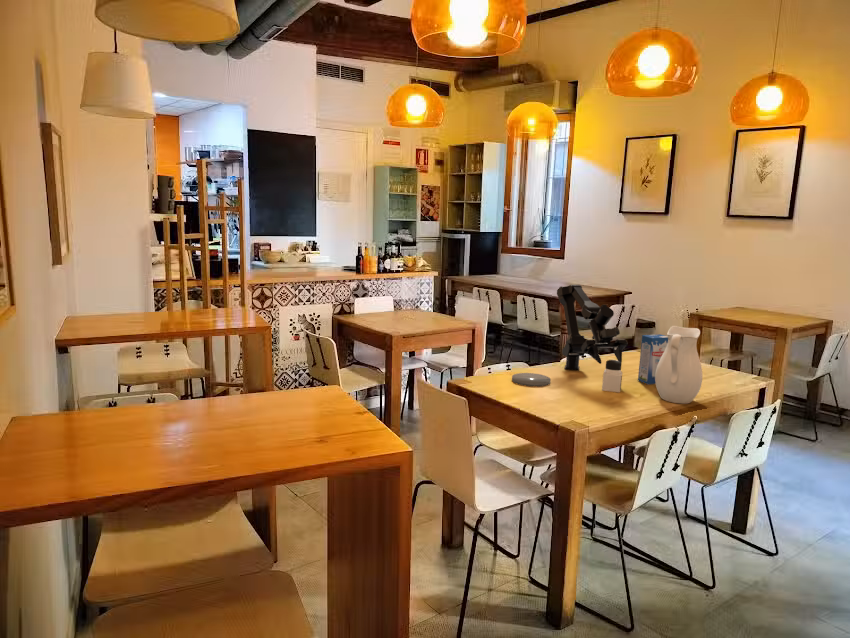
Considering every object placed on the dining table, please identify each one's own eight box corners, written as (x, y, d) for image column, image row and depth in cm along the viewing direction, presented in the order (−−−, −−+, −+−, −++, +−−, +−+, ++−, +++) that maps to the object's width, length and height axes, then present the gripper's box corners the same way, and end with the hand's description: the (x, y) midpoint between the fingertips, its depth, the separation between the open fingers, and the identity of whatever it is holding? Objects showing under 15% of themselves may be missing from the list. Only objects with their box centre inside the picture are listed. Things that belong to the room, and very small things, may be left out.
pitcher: (659, 390, 257) (666, 323, 252) (703, 399, 247) (711, 329, 242) (642, 404, 237) (649, 331, 232) (689, 413, 228) (698, 338, 223)
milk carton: (656, 379, 275) (660, 334, 272) (666, 382, 269) (671, 337, 266) (637, 380, 271) (642, 335, 268) (647, 384, 266) (652, 338, 262)
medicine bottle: (620, 392, 252) (622, 363, 250) (601, 390, 254) (604, 361, 252) (620, 388, 258) (623, 359, 256) (602, 386, 261) (605, 357, 259)
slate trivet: (514, 374, 274) (514, 371, 273) (551, 378, 270) (552, 375, 269) (509, 384, 259) (509, 380, 258) (548, 388, 254) (549, 384, 254)
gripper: (586, 320, 256) (598, 352, 248) (627, 320, 261) (640, 351, 252) (576, 335, 265) (587, 367, 256) (615, 335, 270) (627, 366, 261)
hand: (610, 363), depth 256 cm, fingers open, 9 cm apart
